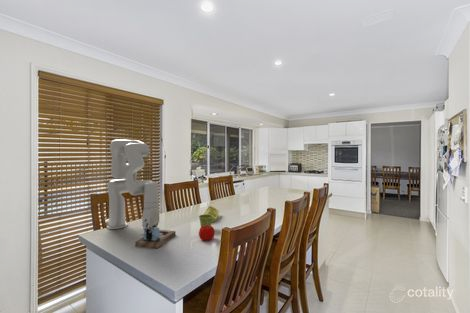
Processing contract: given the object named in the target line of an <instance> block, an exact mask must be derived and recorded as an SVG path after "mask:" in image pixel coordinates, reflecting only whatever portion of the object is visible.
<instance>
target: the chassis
mask: <svg viewBox="0 0 470 313" xmlns="http://www.w3.org/2000/svg"><path fill="white" fill-rule="evenodd" d="M176 232H177V231H176V230H167V229H159V233H163V235H161V236H160V237H159V238H158V239H157V240H156V241H155V240H145V239H144V236H143V237H142V236H141V238H139V239H138V240H136V241H135V242H134V243H135V245H134V247H139V248H147V249H157V250H158V249H159V248H161V247H162V246H163V245H164V244H166V243H167V242H169V241H170V240H171V239H172V238H174V237H176V234H177V233H176Z"/></svg>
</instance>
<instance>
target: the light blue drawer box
mask: <svg viewBox="0 0 470 313" xmlns="http://www.w3.org/2000/svg"><path fill="white" fill-rule="evenodd" d="M148 229H150V228H148ZM159 230H160V227H157V228H156V227H154V228H153V227H152V229H151V232H152V240H155V241H156V240H157V239H158V238H159V237H160V236H161V235H163V233H159ZM140 236H141V237H142V236H143V237H144V239H145V240H147V239H146V232H145V230H143V232H141V233H140Z"/></svg>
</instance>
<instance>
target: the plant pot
mask: <svg viewBox="0 0 470 313" xmlns="http://www.w3.org/2000/svg"><path fill="white" fill-rule="evenodd" d="M198 218H199V223H200V228H201V227H202V226H206V225H209V226H212V223H213V222H212V218H213V215H209V214H200V215H199V216H198Z"/></svg>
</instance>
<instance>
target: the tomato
mask: <svg viewBox="0 0 470 313" xmlns="http://www.w3.org/2000/svg"><path fill="white" fill-rule="evenodd" d="M215 234H216V233H215V228H214V226H212V225H211V226H209V225H206V226H202V227H201V226H200V228H199V230H198V237H199V239H200V240H201V241H206V242H207V241H212V239H214V237H215Z"/></svg>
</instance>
